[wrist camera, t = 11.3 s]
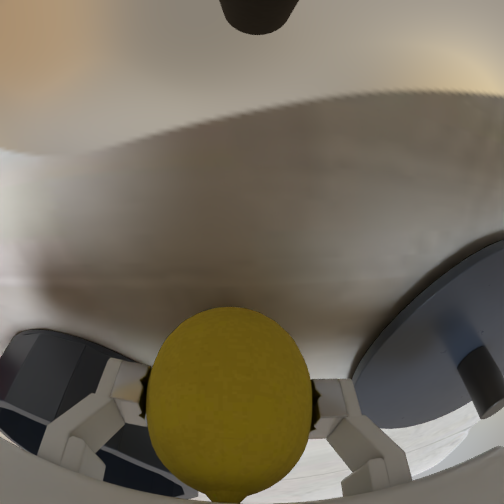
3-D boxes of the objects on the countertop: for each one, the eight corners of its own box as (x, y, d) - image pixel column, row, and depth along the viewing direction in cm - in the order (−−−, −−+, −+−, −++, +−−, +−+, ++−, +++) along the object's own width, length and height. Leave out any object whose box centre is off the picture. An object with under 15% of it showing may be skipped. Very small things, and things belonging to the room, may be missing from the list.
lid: (423, 200, 10) (508, 278, 5) (571, 249, 11) (611, 290, 7) (312, 424, 18) (320, 488, 14) (470, 399, 20) (488, 441, 15)
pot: (-21, 306, 13) (-60, 362, 8) (204, 358, 14) (193, 457, 9) (52, 421, 21) (37, 463, 16) (203, 457, 22) (199, 508, 17)
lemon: (218, 369, 15) (208, 517, 8) (145, 299, 12) (86, 476, 5) (317, 331, 13) (351, 500, 6) (256, 239, 11) (265, 476, 4)
